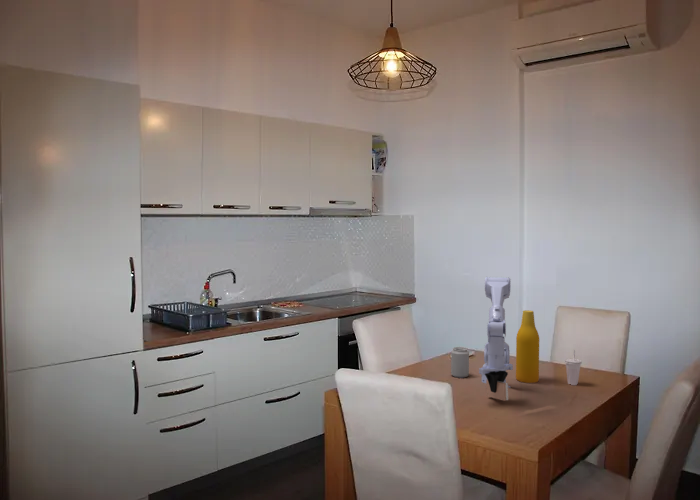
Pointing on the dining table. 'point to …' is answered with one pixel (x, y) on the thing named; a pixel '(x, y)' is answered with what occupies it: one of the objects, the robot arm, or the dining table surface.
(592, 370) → the dining table surface
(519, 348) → the beer bottle
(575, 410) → the dining table surface
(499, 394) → the tile
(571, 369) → the smoothie
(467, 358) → the can
